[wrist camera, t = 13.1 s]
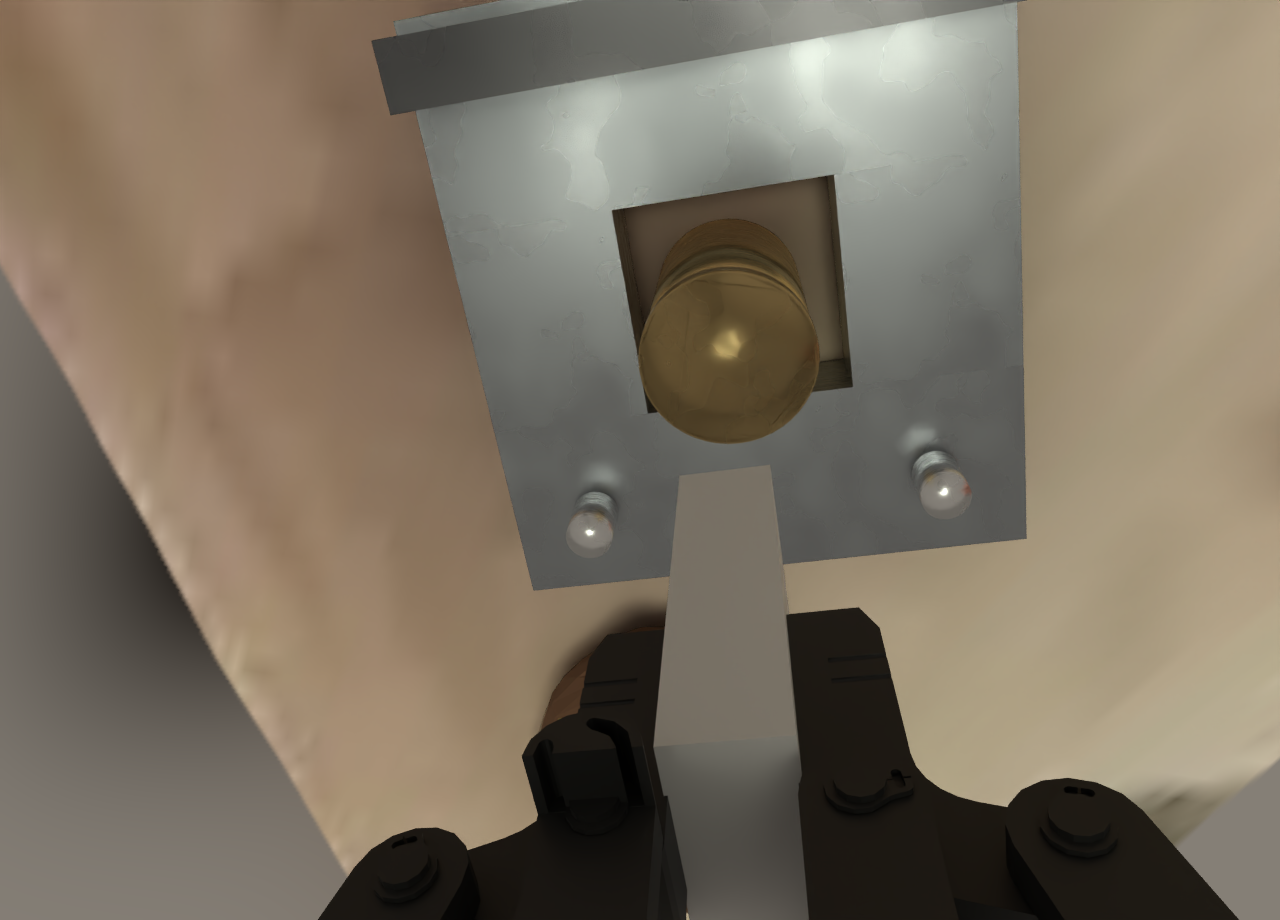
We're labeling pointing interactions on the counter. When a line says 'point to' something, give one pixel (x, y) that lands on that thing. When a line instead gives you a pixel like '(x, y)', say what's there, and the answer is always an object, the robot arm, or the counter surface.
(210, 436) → the counter surface
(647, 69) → the jig
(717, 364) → the amber grooved cylinder
